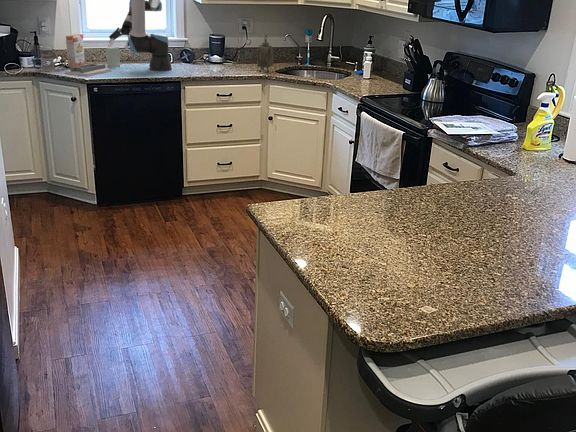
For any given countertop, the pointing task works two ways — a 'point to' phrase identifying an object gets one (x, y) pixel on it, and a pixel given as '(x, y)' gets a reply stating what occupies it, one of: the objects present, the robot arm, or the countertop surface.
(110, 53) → the door panel
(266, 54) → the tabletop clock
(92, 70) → the grey flat block
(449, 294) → the countertop surface
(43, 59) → the french press
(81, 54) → the cracker box
